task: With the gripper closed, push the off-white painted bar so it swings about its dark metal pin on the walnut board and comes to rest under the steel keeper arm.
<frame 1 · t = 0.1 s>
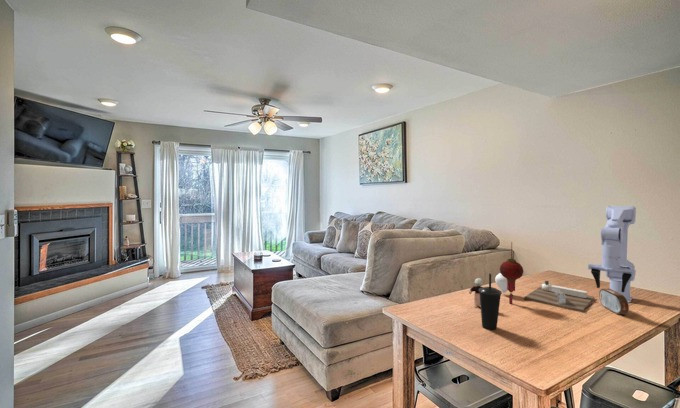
hand: (610, 289, 128), 10 cm above the table, tool pointing down, fingers open, 7 cm apart
keeper: (561, 305, 137), resting on pivot board
pivot board: (546, 292, 156), on the table
tin: (612, 311, 132), on the table
pivot bar: (563, 290, 151), point 3 cm above the table, hinge at 90.0°
drinking cup: (489, 327, 115), on the table
grandmother figurine: (478, 307, 136), on the table
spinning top: (503, 295, 152), on the table
lantern: (510, 304, 140), on the table
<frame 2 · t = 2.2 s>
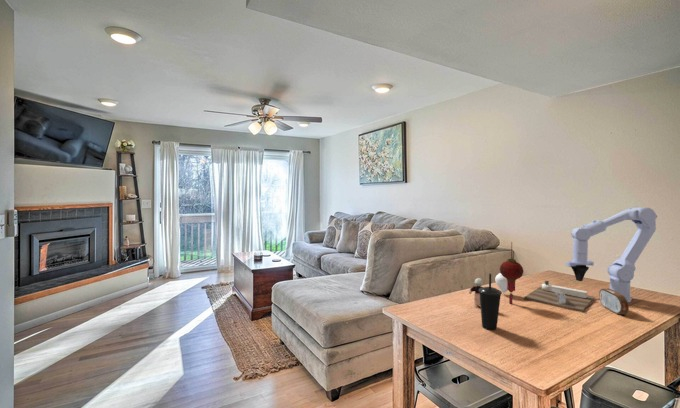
hand: (579, 280, 151), 7 cm above the table, tool pointing down, fingers closed
nothing on the table moved.
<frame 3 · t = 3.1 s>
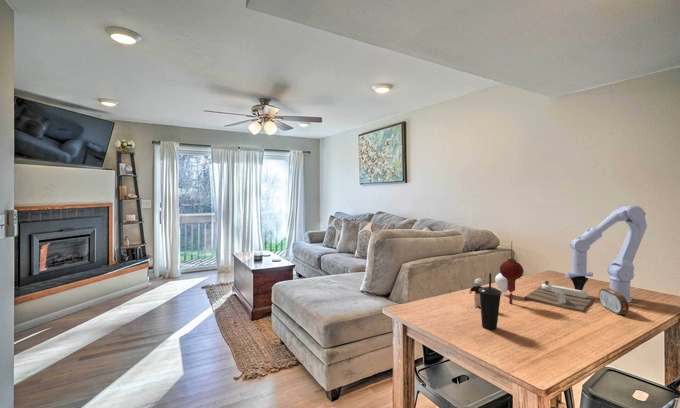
hand: (578, 291, 151), 2 cm above the table, tool pointing down, fingers closed
nothing on the table moved.
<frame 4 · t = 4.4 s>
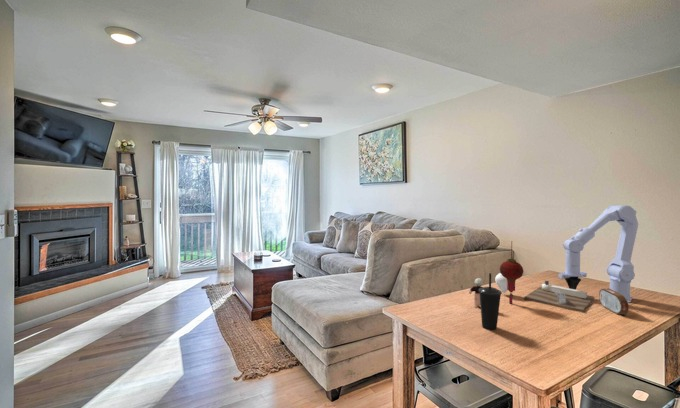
hand: (572, 292, 150), 2 cm above the table, tool pointing down, fingers closed
pivot bar: (563, 290, 151), point 3 cm above the table, hinge at 87.2°, touching gripper
everything else where it was.
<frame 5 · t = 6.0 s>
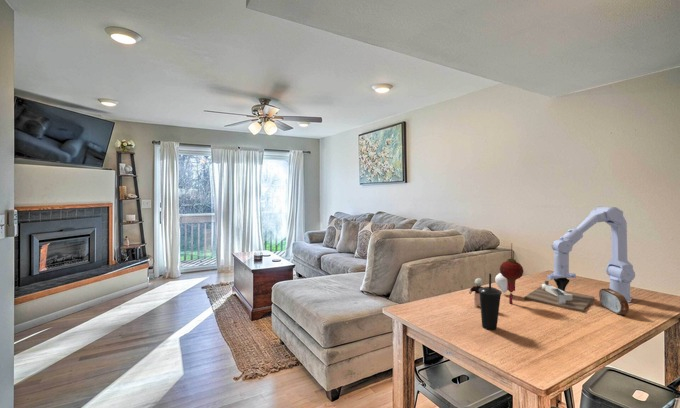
hand: (561, 293, 149), 2 cm above the table, tool pointing down, fingers closed, pressing on pivot bar
pivot bar: (555, 291, 149), point 3 cm above the table, hinge at 45.6°, touching gripper
everything else where it was.
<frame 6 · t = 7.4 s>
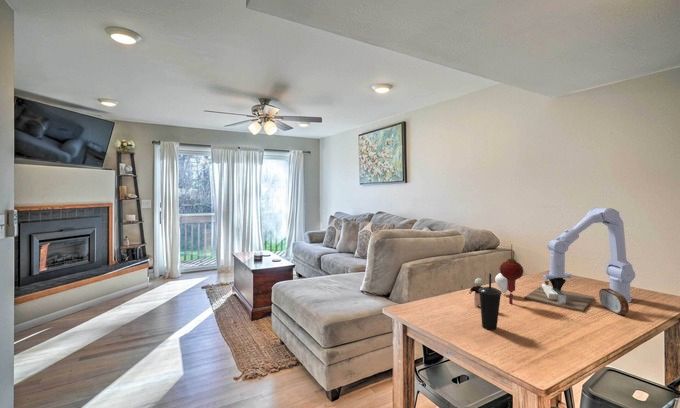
hand: (556, 293, 148), 2 cm above the table, tool pointing down, fingers closed
pivot bar: (549, 291, 150), point 3 cm above the table, hinge at 22.6°, touching gripper
everything else where it was.
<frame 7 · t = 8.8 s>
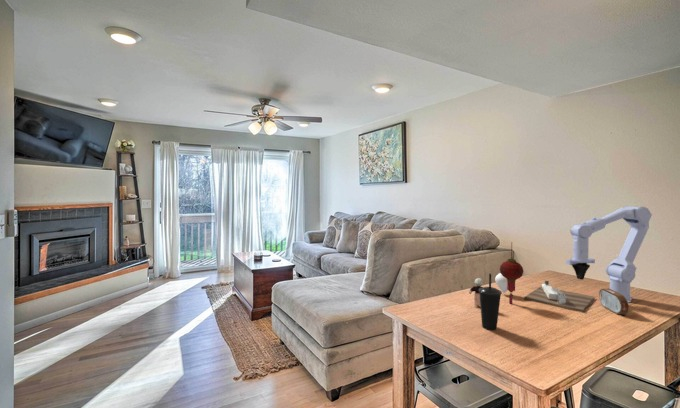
hand: (580, 279, 147), 9 cm above the table, tool pointing down, fingers closed
pivot bar: (549, 291, 150), point 3 cm above the table, hinge at 22.5°
everything else where it was.
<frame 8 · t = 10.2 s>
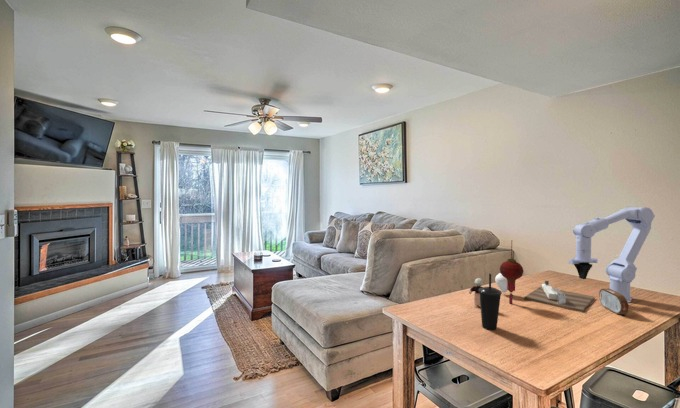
hand: (582, 278, 147), 9 cm above the table, tool pointing down, fingers closed
nothing on the table moved.
at the end: pivot bar at +22° (first picture: +90°) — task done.
